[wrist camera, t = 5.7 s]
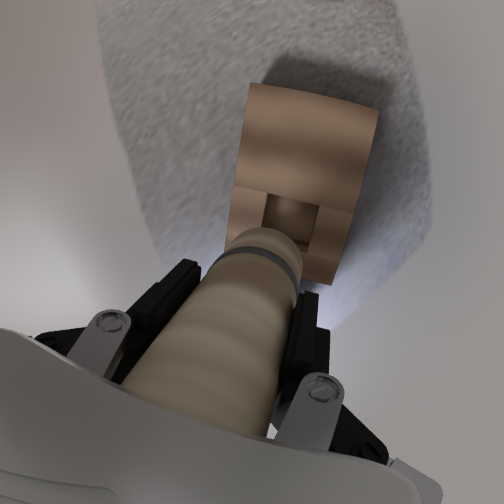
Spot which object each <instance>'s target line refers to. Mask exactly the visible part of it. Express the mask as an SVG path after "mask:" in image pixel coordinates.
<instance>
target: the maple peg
mask: <svg viewBox="0 0 504 504" xmlns="http://www.w3.org/2000/svg"><path fill="white" fill-rule="evenodd" d="M302 269H303V262H302V257H301V254H300V251H299V249H298V247H297V246H296V244H295V243H294V242H293V241H292V240H291V239H290V238H289V237H288V236H287V235H285V234H284V233H282V232H280V231H278V230H275V229H272V228H266V227H258V228H252V229H249V230H246V231H244V232H242V233H241V234H240V235H238V236H237V237H236V238H235V239H234V240H233V242H232V243H231V244H230V245H229V247H228V248H227V249H226V250H225V252H224V253H223V254H222V255H221V256H220V257H219V258H218V259H217V260H216V261H215V262H214V263H213V265H212V266H211V267H210V269H209V270H208V272H207V274H206V275H205V276H204V278H203V279H202V280H201V282H200V283H199V284H198V285H197V287H196V288H195V289H194V290H193V292H192V293H191V294H190V295H189V297H188V298H187V299H186V300H185V302H184V303H183V304H182V306H181V307H180V308H179V309H178V311H177V312H176V313H175V314H174V316H173V317H172V318H171V320H170V321H169V322H168V323H167V325H166V326H165V327H164V329H163V330H162V331H161V332H160V334H159V335H158V336H157V338H156V339H155V340H154V341H153V343H152V344H151V345H150V347H149V348H148V349H147V351H146V352H145V353H144V354H143V356H142V357H141V358H140V360H139V361H138V362H137V364H136V365H135V366H134V368H133V369H132V370H131V371H130V373H129V374H128V375H127V377H126V378H125V379H124V381H123V382H122V383H121V385H120V386H122V387H124V388H127V389H129V390H131V391H133V392H135V393H138V394H140V395H142V396H144V397H147V398H149V399H151V400H154V401H156V402H159V403H161V404H164V405H166V406H169V407H171V408H174V409H176V410H179V411H182V412H184V413H187V414H190V415H193V416H195V417H198V418H201V419H204V420H207V421H210V422H213V423H216V424H219V425H222V426H226V427H229V428H232V429H236V430H239V431H243V432H246V433H250V434H253V435H257V436H261V437H265V438H266V436H267V432H268V429H269V425H270V421H271V417H272V412H273V408H274V404H275V400H276V396H277V392H278V387H279V378H280V373H281V369H282V365H283V360H284V356H285V351H286V346H287V342H288V337H289V332H290V328H291V323H292V318H293V313H294V309H295V305H296V302H297V298H298V295H299V286H300V280H301V275H302Z"/></svg>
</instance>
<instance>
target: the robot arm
mask: <svg viewBox="0 0 504 504" xmlns="http://www.w3.org/2000/svg"><path fill="white" fill-rule="evenodd" d="M200 278H201V267H200V266H198V263H197V262H195V261H192V260H188V259H183V260H182V261H181V262H180V263H178V264H177V265H176V266H175V267H174V268H173V269H172V270H171V271H170V272H169V273H168V274H167V275H166V276H165V277H164V278H163V279H162V280H161V281H160V282H156V283H155V284H154V285H153V286H152V287H151V288H150V289H148V291H146V293H144V294H143V295H142V296H141V297H140V298H139V299H138V300H137V301H136V302H135V303H134V304H133V305H132V306H131V307H130V308H129V309H128V310H127V311H126V312H122V311H120V310H114V309H113V310H112V309H111V310H105V311H102V312H99V313H98V314H96V316H94V317H93V319H92V320H91V321H90V323H89V324H88V326H87V327H83V328H75V329H69V330H60V331H52V332H46V333H42V334H40V335H38V336H37V337H35V338H34V339H33V337H32V336H26V335H24V334H21V333H18V332H15V331H12V330H7V329H3V328H0V504H440V503H441V501H442V497H443V493H442V489H441V487H440V485H439V484H438V483H437V482H435V481H434V480H432V479H431V478H429V477H427V476H426V475H424V474H422V473H421V472H419V471H417V470H416V469H414V468H412V467H411V466H409V465H408V464H406V463H404V462H403V461H401V460H399V459H398V458H395V459H394V460H393V459H392V458H390V457H389V453H388V450H387V448H386V446H385V445H384V444H383V443H382V442H381V441H380V440H379V439H378V438H377V437H376V436H375V435H374V434H373V433H372V432H371V431H370V430H369V429H368V428H367V427H366V426H365V425H364V424H363V423H362V422H361V421H360V420H359V419H357V418H356V417H355V416H354V415H353V414H352V413H351V412H350V411H349V410H348V409H347V408H346V407H345V406H344V405H343V404H342V402H343V399H344V388H343V386H342V384H341V383H340V382H339V381H338V380H337V379H336V378H334V377H333V376H331V375H329V356H330V330H328V329H323V328H319V327H316V325H317V313H318V300H319V294H317V293H313V292H309V291H305V293H304V294H302V293H299V295H298V298H297V302H296V305H295V309H294V313H293V318H292V323H291V328H290V332H289V337H288V342H287V346H286V351H285V356H284V360H283V365H282V369H281V373H280V378H279V387H278V392H277V396H276V400H275V404H274V408H273V412H272V417H271V421H270V423H272V424H273V426H274V427H275V428H276V429H277V431H278V432H277V434H276V436H275V438H274V440H273V439H268V438H265V437H261V436H257V435H253V434H250V433H246V432H243V431H239V430H236V429H232V428H229V427H226V426H222V425H219V424H216V423H213V422H210V421H207V420H204V419H201V418H198V417H195V416H193V415H190V414H187V413H184V412H182V411H179V410H176V409H174V408H171V407H169V406H166V405H164V404H161V403H159V402H156V401H154V400H151V399H149V398H147V397H144V396H142V395H140V394H138V393H135V392H133V391H131V390H129V389H127V388H124V387H122V386H120V385H121V383H122V382H123V381H124V379H125V378H126V377H127V375H128V374H129V373H130V371H131V370H132V369H133V368H134V366H135V365H136V364H137V362H138V361H139V360H140V358H141V357H142V356H143V354H144V353H145V352H146V351H147V349H148V348H149V347H150V345H151V344H152V343H153V341H154V340H155V339H156V338H157V336H158V335H159V334H160V332H161V331H162V330H163V329H164V327H165V326H166V325H167V323H168V322H169V321H170V320H171V318H172V317H173V316H174V314H175V313H176V312H177V311H178V309H179V308H180V307H181V306H182V304H183V303H184V302H185V300H186V299H187V298H188V297H189V295H190V294H191V293H192V292H193V290H194V289H195V288H196V287H197V285H198V284H199V283H200Z"/></svg>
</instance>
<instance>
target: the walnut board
mask: <svg viewBox="0 0 504 504" xmlns="http://www.w3.org/2000/svg"><path fill="white" fill-rule="evenodd" d="M378 115H379V110H377V109H373V108H370V107H367V106H363V105H360V104H356V103H352V102H348V101H345V100H341V99H337V98H332V97H328V96H324V95H319V94H315V93H310V92H305V91H300V90H295V89H289V88H284V87H278V86H272V85H265V84H258V83H250V88H249V94H248V100H247V105H246V111H245V117H244V123H243V129H242V135H241V141H240V148H239V154H238V160H237V167H236V173H235V180H234V186H233V193H232V200H231V206H230V213H229V220H228V227H227V234H226V242H225V249H224V252H225V250H226V249H227V248H228V247H229V245H230V244H231V243H232V242H233V240H234V239H235V238H236V237H237V236H238V235H240V234H241V233H242V232H244V231H246V230H249V229H252V228H258V227H266V228H272V229H275V230H278V231H280V232H282V233H284V234H285V235H287V236H288V237H289V238H290V239H291V240H292V241H293V242H294V243H295V244H296V246H297V247H298V249H299V251H300V254H301V257H302V262H303V269H302V275H301V278H303V279H307V280H310V281H314V282H318V283H322V284H326V285H330V286H331V285H332V282H333V279H334V276H335V273H336V270H337V267H338V264H339V261H340V258H341V255H342V252H343V249H344V246H345V242H346V239H347V236H348V233H349V229H350V226H351V222H352V219H353V216H354V212H355V209H356V205H357V201H358V198H359V194H360V191H361V187H362V183H363V179H364V175H365V171H366V167H367V163H368V159H369V155H370V151H371V147H372V142H373V138H374V133H375V129H376V124H377V120H378Z"/></svg>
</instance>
